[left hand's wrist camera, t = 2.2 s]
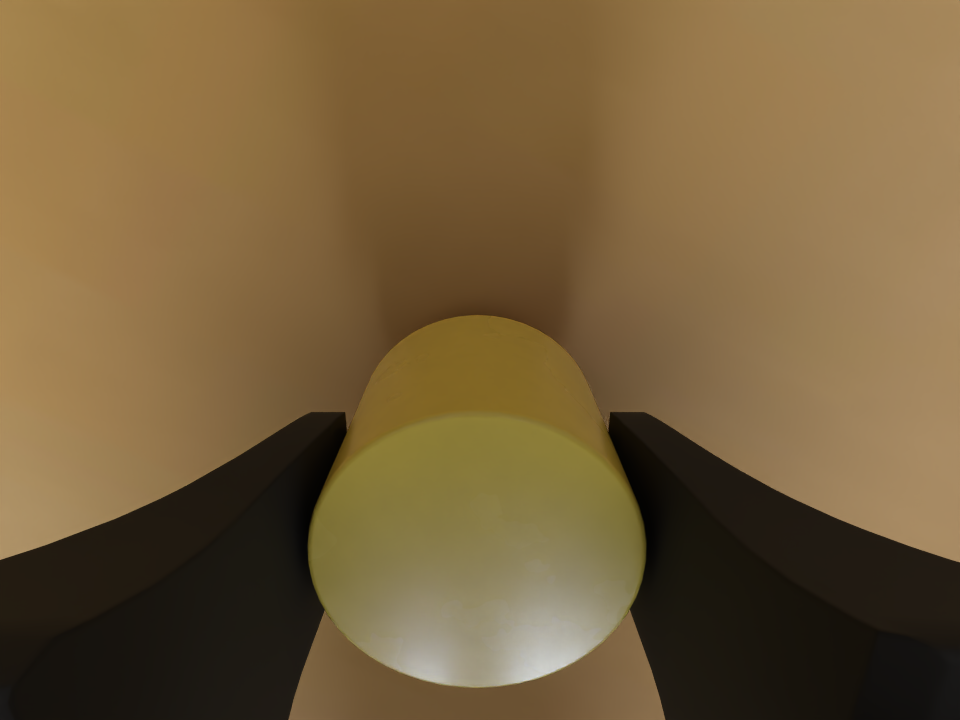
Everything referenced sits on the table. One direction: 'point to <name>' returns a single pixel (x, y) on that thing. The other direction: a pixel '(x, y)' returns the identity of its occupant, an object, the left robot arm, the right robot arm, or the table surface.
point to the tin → (477, 511)
